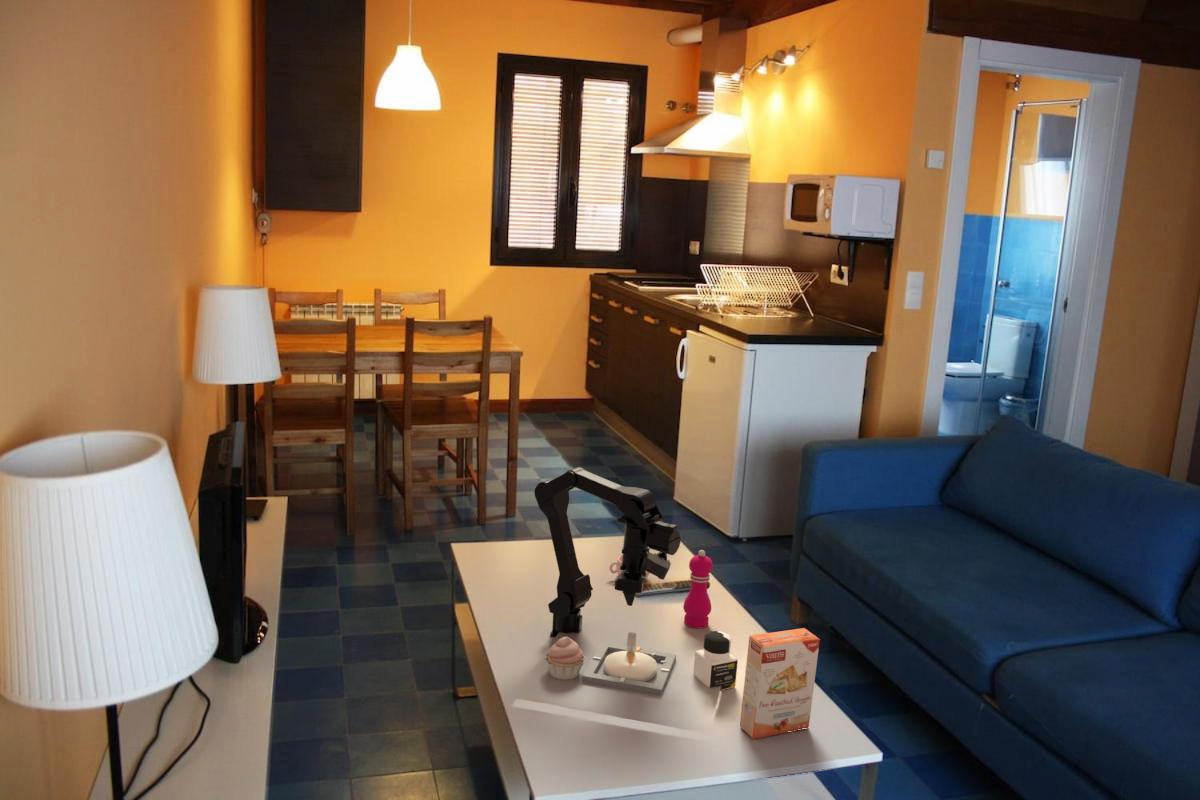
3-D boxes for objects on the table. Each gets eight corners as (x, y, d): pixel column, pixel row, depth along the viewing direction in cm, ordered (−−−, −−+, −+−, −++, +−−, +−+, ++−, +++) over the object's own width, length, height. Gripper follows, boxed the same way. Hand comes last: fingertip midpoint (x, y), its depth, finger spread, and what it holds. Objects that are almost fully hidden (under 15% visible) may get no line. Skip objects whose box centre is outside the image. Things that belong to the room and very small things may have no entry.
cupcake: (577, 690, 220) (579, 649, 218) (537, 682, 222) (539, 641, 220) (590, 672, 228) (592, 631, 226) (551, 664, 231) (553, 624, 229)
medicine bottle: (709, 693, 222) (713, 643, 219) (692, 679, 228) (696, 630, 226) (735, 688, 225) (740, 638, 223) (718, 673, 231) (722, 625, 229)
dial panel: (581, 686, 222) (582, 674, 221) (601, 652, 239) (602, 640, 238) (660, 700, 217) (661, 688, 217) (675, 664, 235) (676, 652, 234)
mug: (645, 572, 291) (647, 552, 290) (653, 585, 282) (654, 565, 280) (605, 572, 289) (606, 553, 288) (612, 585, 279) (613, 566, 278)
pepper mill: (708, 630, 254) (714, 556, 250) (680, 626, 255) (686, 553, 251) (711, 619, 261) (717, 547, 257) (683, 615, 262) (689, 543, 258)
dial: (656, 684, 222) (658, 656, 220) (603, 680, 222) (604, 652, 221) (655, 659, 234) (657, 632, 232) (604, 656, 234) (606, 629, 232)
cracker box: (754, 741, 203) (763, 646, 199) (738, 726, 209) (747, 634, 204) (810, 730, 209) (821, 637, 205) (794, 716, 214) (804, 625, 210)
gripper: (666, 562, 222) (659, 626, 226) (673, 534, 240) (667, 594, 244) (617, 555, 224) (611, 619, 227) (627, 528, 242) (622, 588, 245)
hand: (630, 605), depth 236 cm, fingers closed
